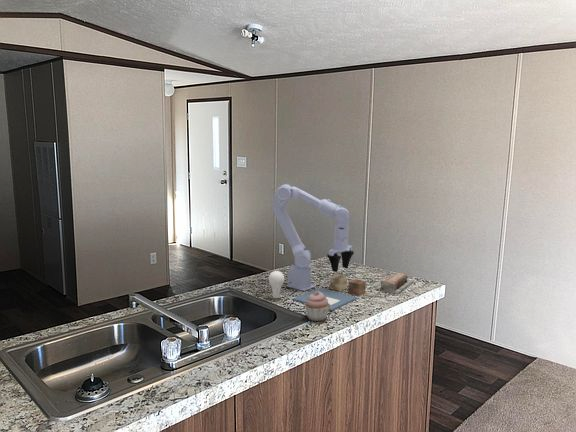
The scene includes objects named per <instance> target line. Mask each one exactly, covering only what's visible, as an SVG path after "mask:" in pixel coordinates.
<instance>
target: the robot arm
mask: <svg viewBox="0 0 576 432" xmlns="http://www.w3.org/2000/svg"><path fill="white" fill-rule="evenodd" d="M290 199H291V201H295V200H300V201H303V202H304V203H307V204H310V205H311V206H312V207H313V206H314V207H316V208H317V211H318V212H319V213H320V214H323V215H325V216H327V217H329V218H331V219H334V220H335V225H334V238H333V247H332V248H331V249H329V250H328V253H327V258H328V260H329V263H330V267H331V271H332V272H334V273H337V272H338V271H339V266H340V265H339V263H340V260H341V265H342V266H341V267H342V268H344V269H348V268H349V264H350V261H351V259H352V258H353V257H352V256H353V255H354V251H353V245H351V244H349V233H350V232H349V228H350V227H349V221H350V217H351V216H350V212H349V210H348V209H347V208H346V207H344V206H342V205H341V204H335V203H334V202H332V200H331V199H329V198H328V199H326V198H323V199H319V198H317V197H316V196H314V195H311V194H310V193H308V192H306V191H304V190H302V189H301V188H299V187H296V186H294V185H290V184H289V183H284V184H281V185H280V186H279V187H278V188H276V191H275V192H274V195H273V205H272V212H273V213H274V216H275V217H276V220H277V222H278V224H279V225H280V228H281V230H282V231H283V234H284V236H285V238H286V240H287V241H288V244H289V247H290V248H291V251H292V254H293V255H292V256H293V257H294V264H292V265H290V266H289V269H288V271H287V272H288V274H287V281H288V282H287V285H286V287H288V288H291V289H295V290H299V291H301V292H302V291H303V292H305V291H308V290H311V289H313V288H315V287H316V285H314V284H312V271H313V270H312V268H313V267H312V264H311V259H312V252H311V251H310V250H308V249H307V248H306V246H305V244H304V243H303V242H302V239H301V238H300V236H299V234H298V232H297V229H296V228H295V225H294V224H293V221H292V220H291V218H290V215H289V214H288V212H287V206H288V203H289V201H290ZM338 254H340V255H338Z"/></svg>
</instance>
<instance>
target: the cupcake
mask: <svg viewBox="0 0 576 432" xmlns="http://www.w3.org/2000/svg"><path fill="white" fill-rule="evenodd" d="M303 305H304V309H305V310H306V315H307V318H308V319H309V321H315V322H322V321H325V320H326V318H327V315H328V314H329V308H330V307H331V306H330V304H329V303H328V299H327V298H326V297H325V296H324V294H323V293H321V292H319V291H316V292H315V293H314V294H311V295H310V296H309V297H308V299H307V301H306V303H303Z"/></svg>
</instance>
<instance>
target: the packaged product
mask: <svg viewBox="0 0 576 432" xmlns="http://www.w3.org/2000/svg"><path fill="white" fill-rule="evenodd" d="M412 284H413V280H408V274H406V273H403V272H400V273H399V272H398V273H397V272H396V273H393V274H390V275H389V276H387V277H385V278H384V279H383V280H381V281H380V285H379V286H377V287H376V288H375V290H376V291H379V290H380V292H385V293H392V294H394V295H395V294H396V295H399V294H401V293H402V292H403V291H405V290H406V289H407V288H409V287H410V286H411V285H412Z"/></svg>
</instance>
